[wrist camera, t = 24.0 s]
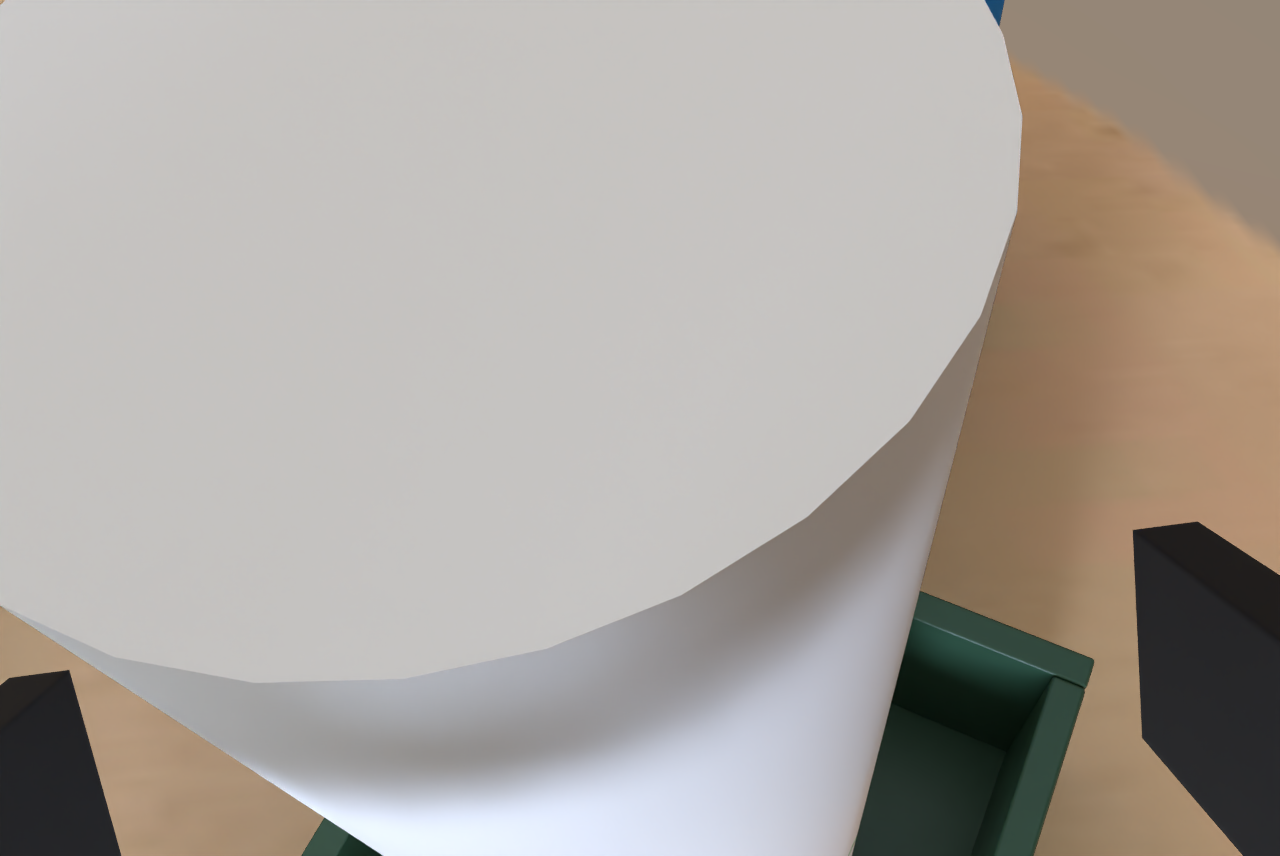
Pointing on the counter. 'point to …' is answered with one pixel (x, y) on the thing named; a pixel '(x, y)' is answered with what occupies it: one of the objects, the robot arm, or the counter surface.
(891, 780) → the tray
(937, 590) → the counter surface
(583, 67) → the cylindrical container
